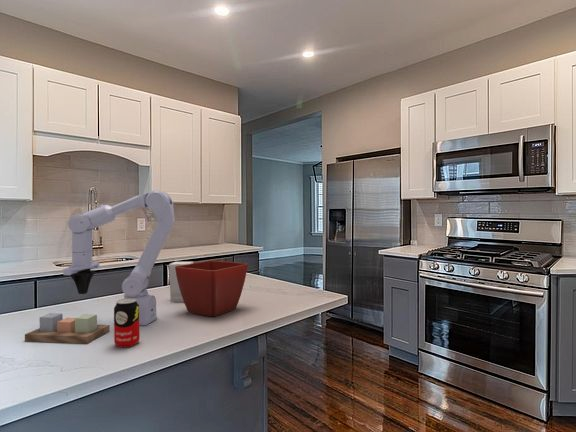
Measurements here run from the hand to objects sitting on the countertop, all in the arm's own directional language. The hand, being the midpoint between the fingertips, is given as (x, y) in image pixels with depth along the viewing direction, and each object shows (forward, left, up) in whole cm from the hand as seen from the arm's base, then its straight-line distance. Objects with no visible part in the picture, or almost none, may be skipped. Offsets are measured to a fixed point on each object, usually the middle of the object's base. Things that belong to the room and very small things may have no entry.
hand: (82, 293), depth 115 cm
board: (-4, +11, -10) cm, 15 cm away
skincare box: (-20, -32, -10) cm, 39 cm away
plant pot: (-37, -19, -10) cm, 43 cm away
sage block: (-9, +11, -8) cm, 16 cm away
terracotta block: (-4, +11, -9) cm, 15 cm away
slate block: (+2, +11, -8) cm, 14 cm away
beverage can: (-24, +15, -10) cm, 30 cm away
